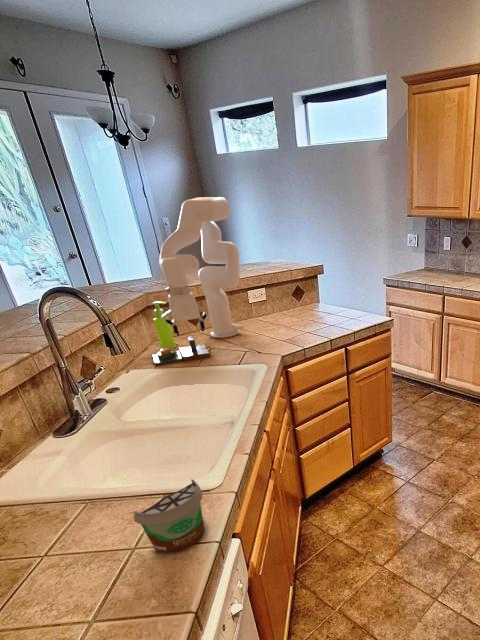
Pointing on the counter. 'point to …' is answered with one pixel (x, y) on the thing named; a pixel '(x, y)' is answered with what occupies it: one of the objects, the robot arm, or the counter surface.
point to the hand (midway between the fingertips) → (190, 332)
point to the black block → (192, 344)
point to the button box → (167, 358)
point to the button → (165, 351)
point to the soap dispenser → (163, 328)
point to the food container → (174, 520)
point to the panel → (194, 353)
